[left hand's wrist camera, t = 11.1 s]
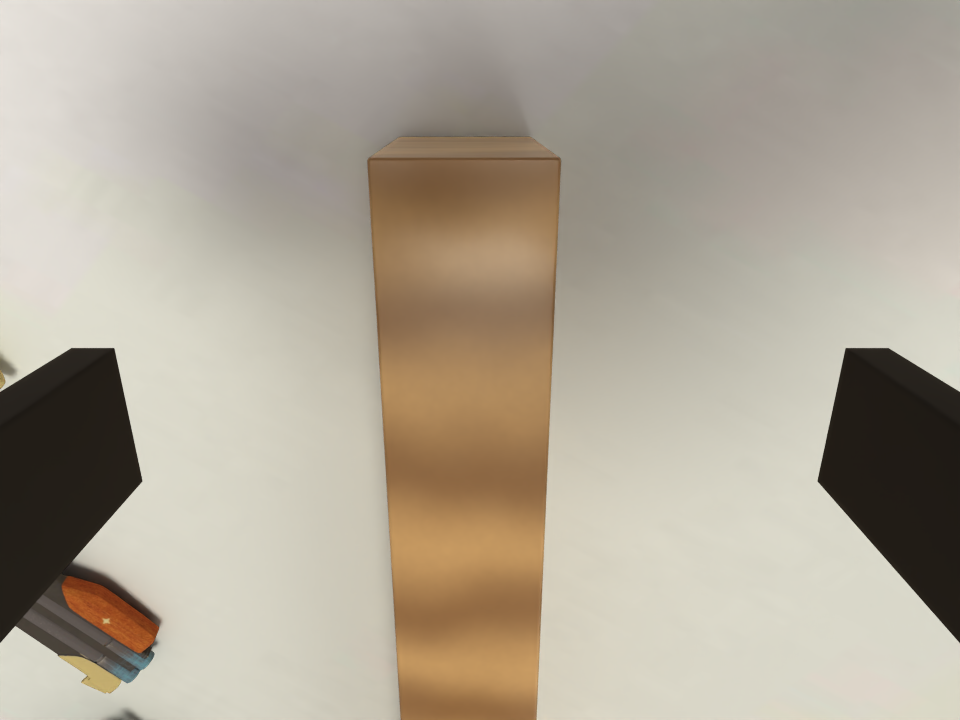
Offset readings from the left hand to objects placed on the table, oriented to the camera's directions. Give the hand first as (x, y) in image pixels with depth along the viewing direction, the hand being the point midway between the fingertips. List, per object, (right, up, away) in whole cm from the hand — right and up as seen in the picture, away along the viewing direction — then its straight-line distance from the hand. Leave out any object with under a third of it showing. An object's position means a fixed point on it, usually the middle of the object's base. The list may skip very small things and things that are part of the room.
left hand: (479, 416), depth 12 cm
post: (-1, -24, +26) cm, 35 cm away
